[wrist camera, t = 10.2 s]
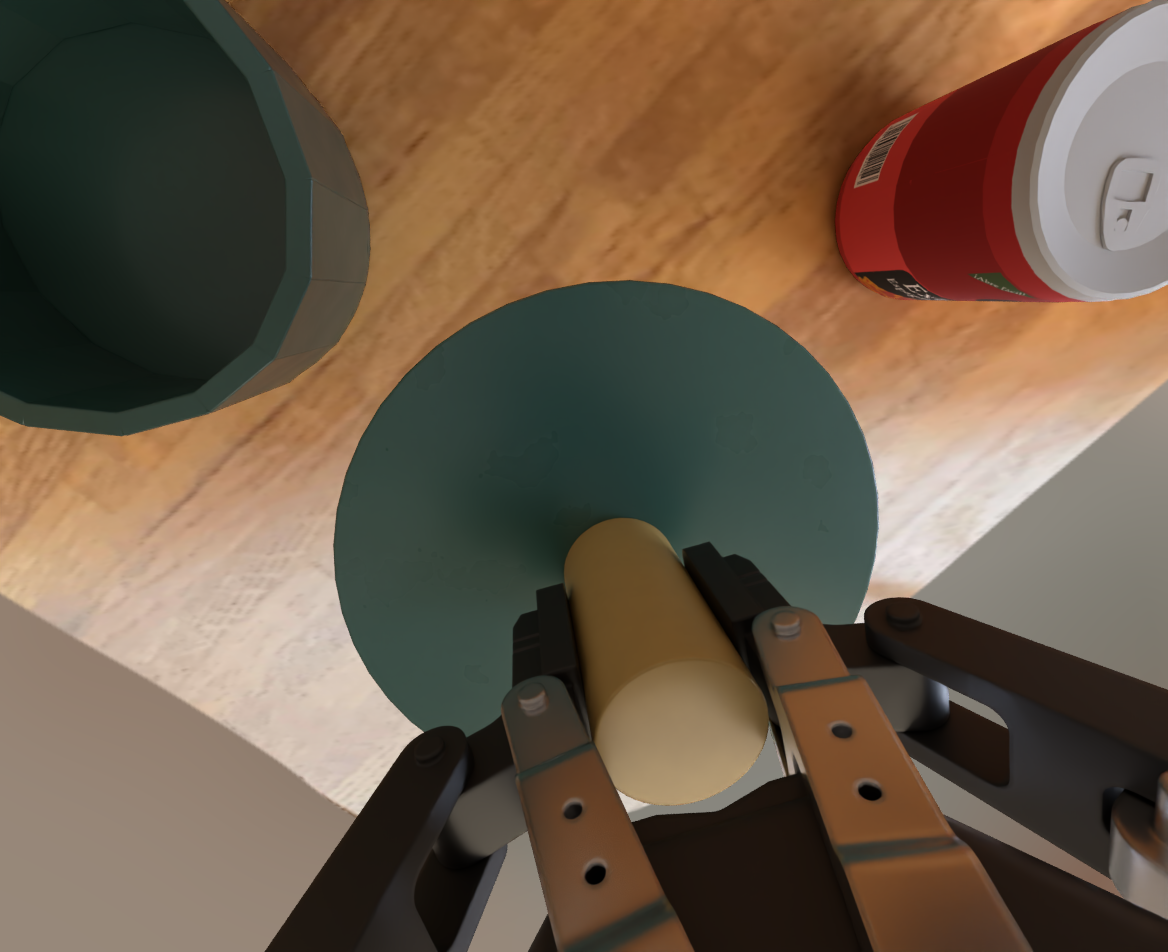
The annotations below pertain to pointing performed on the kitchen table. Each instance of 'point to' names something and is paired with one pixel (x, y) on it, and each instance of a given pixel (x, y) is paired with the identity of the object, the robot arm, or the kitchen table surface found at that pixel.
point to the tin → (163, 215)
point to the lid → (603, 517)
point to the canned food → (1024, 178)
